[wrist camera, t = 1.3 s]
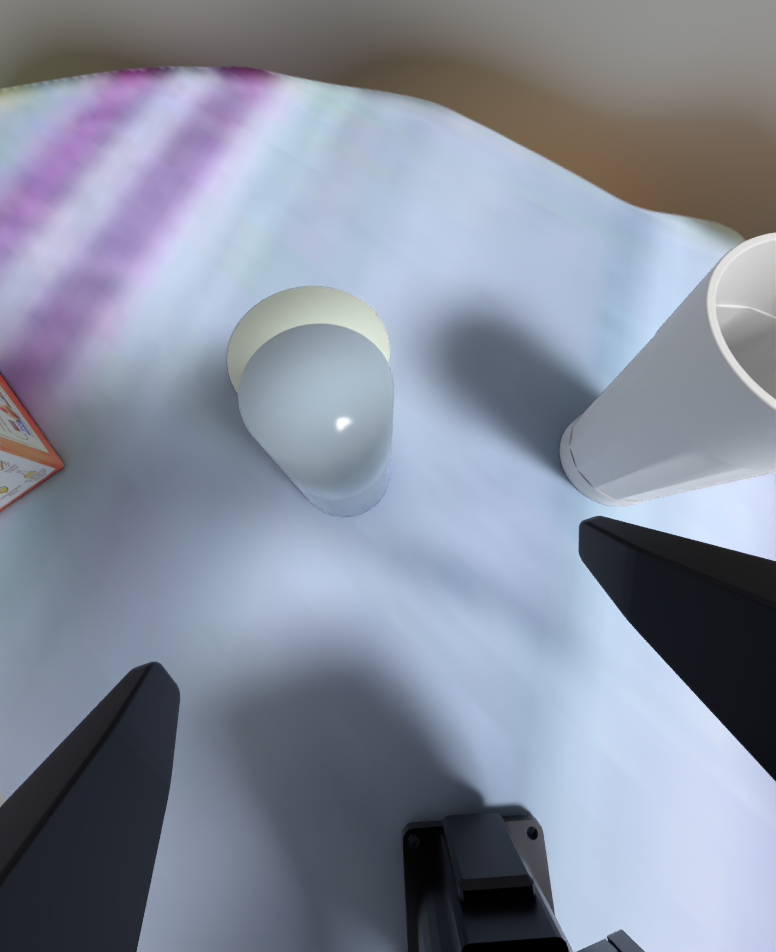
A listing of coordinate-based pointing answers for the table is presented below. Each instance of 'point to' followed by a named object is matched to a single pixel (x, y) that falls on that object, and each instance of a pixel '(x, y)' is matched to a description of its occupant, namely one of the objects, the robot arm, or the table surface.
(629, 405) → the cup
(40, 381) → the table surface
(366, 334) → the mat
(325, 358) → the grey cylinder
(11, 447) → the cracker box
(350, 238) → the table surface
